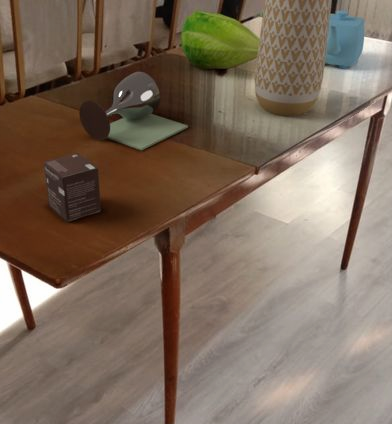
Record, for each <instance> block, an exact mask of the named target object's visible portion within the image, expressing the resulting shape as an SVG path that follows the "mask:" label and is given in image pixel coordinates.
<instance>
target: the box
mask: <svg viewBox="0 0 392 424" xmlns="http://www.w3.org/2000/svg"><path fill="white" fill-rule="evenodd" d="M42 163H43V169H44V177H45V185H46V193H47V203H48V207H50V208H51V209H52V210H53V212H55V213H56V214H57V215H58V216H59V217H61V218H62V219H63V220H64V221H65V222H67V223H68V222H72V221H75V220H77V219H81V218H83V217H86V216H91V215H93V214H98V213H100V212H101V211H102V210H101V209H102V208H101V193H100V192H101V191H100V175H99V167H98V166H96V165H95V164H93V162H91V161H90V160H89V159H88V158H87V157H84V156H83V155H81V154H80V153H79V152H75V153H72V154H67V155H64V156H62V157H57V158H53V159H50V160H46V161H43V162H42Z"/></svg>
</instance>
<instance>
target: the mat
mask: <svg viewBox="0 0 392 424" xmlns="http://www.w3.org/2000/svg"><path fill="white" fill-rule="evenodd" d="M188 128H189V125H188V124H183V123H181V122H178V121H175V120H172V119H168V118H165V117H162V116H159V115H156V114H153V113H151V114H149V115H147V116H145V117H143V118H140V119H134V120H129V119H126V118H124V117H122V118H120V119H117V120H115V121H113V122H110V133H109V135H108V137H107V138H106V139H108V140H111V141H114V142H116V143H119V144H122V145H125V146H128V147H130V148H133V149H136V150H138V151H144V150H146V149H148V148H150V147H152V146H153V145H155V144H158V143H159V142H161V141H164V140H166V139H168V138H170V137H172V136H174V135H176V134H178V133H180V132H182V131H184V130H186V129H188Z"/></svg>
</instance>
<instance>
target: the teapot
mask: <svg viewBox="0 0 392 424" xmlns="http://www.w3.org/2000/svg"><path fill="white" fill-rule="evenodd" d="M364 44H365V20H364V18H363V17H359V16H353V15H349V11H346V10H342V9H341V10H337V11H336V13H330V21H329V30H328V39H327V48H326V57H325V65H326V64H329V65H334V66H337V67H338V68H339V69H347V68H348V67H353V66H355V65H356V64H357V62H358V61H359V60H360V57H361V56H362V53H363V50H364Z"/></svg>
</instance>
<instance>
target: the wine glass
mask: <svg viewBox="0 0 392 424" xmlns="http://www.w3.org/2000/svg"><path fill="white" fill-rule="evenodd" d="M111 99H112V104H111V106H110V107H109V108H108V109H107V110H105V109H104V108H103V107H102V106H101V105H100V104H98V103H97V102H95V101H93V100H85V101H84V102H82V104H80V107H79V113H78V114H79V120H80V123H81V126H82V127H83V129H84V131H85V132H86V133H87V134H88V135H89V136H90V137H91V138H93V139H95V140H98V141H104V140H105V139H108V138H107V137H108V135H109V133H110V123H111V122H110V119H109V116H112V115H114V114H115V115H119V116H120V117H122V118H126V119H129V120H134V119H140V118H143V117H145V116H147V115H149V114H153V112H155V111H156V110H157V109H158V108H159V105H160V102H161V95H160V90H159V87H158V85H157V83H156V81H155V80H154V79H153V78H152V77H151V76H150V75H149V74H148V73H146V72H143V71H135V72H133V73H131V74H128V75H127V76H126V77H124V78H123V79H122V80H120V82H118V84H117V85H116V86H115V88H114V90H113V92H112V98H111Z"/></svg>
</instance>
